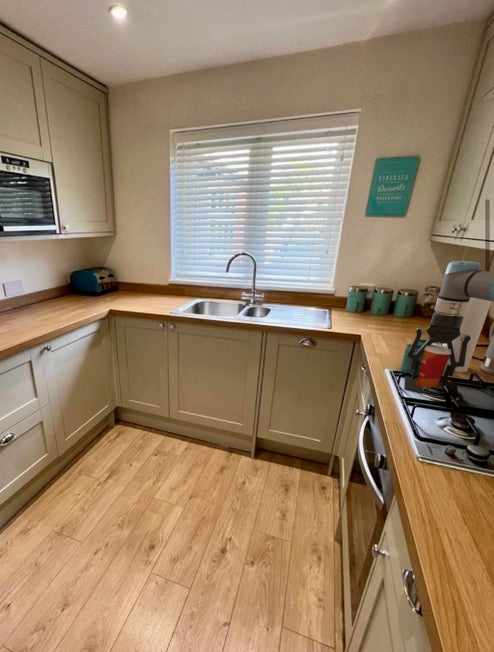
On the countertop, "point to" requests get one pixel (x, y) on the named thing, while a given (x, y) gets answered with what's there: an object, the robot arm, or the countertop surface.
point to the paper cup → (432, 365)
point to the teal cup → (409, 360)
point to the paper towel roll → (470, 330)
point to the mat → (415, 386)
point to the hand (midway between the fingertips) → (427, 380)
